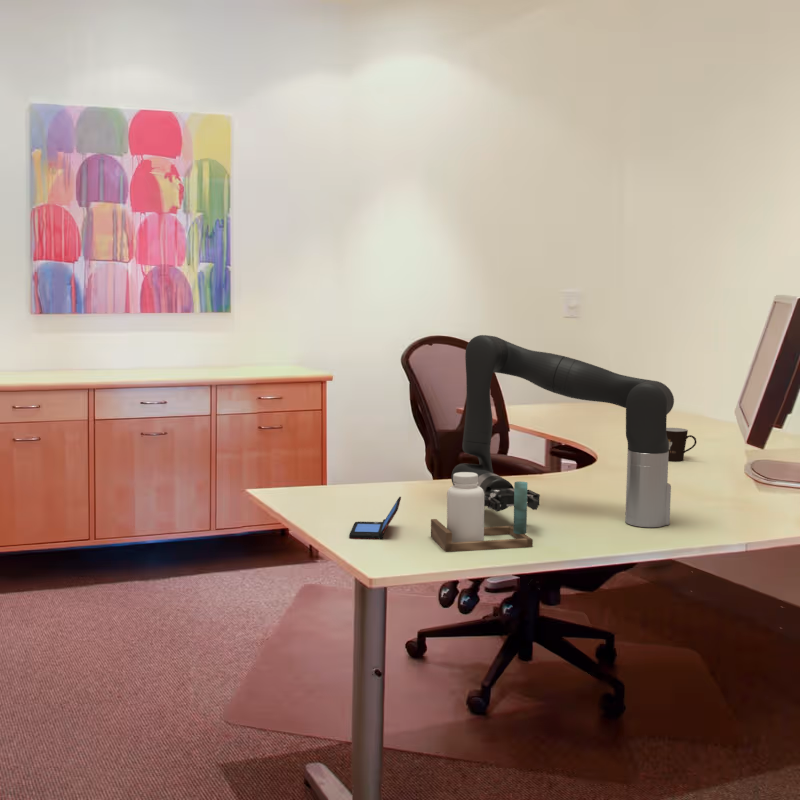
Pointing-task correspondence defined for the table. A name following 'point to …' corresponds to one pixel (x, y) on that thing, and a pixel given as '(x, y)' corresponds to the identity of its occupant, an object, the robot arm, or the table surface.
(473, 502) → the pill bottle
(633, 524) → the robot arm
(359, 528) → the handheld game console
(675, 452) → the coffee mug
